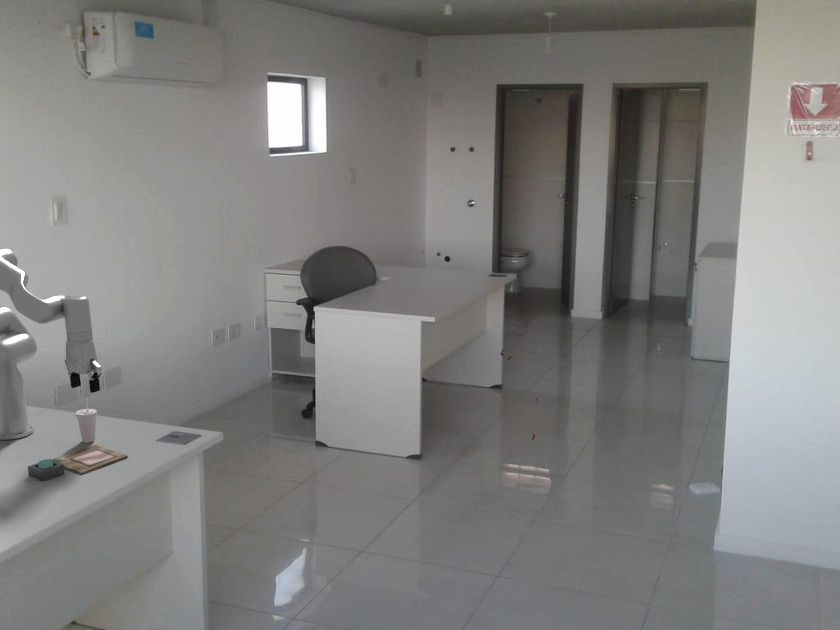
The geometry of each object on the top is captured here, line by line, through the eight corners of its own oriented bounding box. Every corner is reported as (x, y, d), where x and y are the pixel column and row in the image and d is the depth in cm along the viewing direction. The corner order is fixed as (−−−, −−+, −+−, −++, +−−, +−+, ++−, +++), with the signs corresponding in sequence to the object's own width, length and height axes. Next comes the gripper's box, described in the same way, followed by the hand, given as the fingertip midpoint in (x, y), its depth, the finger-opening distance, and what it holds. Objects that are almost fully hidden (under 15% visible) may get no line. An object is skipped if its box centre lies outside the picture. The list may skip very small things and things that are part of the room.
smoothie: (92, 445, 292) (88, 402, 289) (73, 443, 293) (69, 401, 290) (103, 437, 298) (99, 396, 295) (85, 436, 299) (81, 394, 296)
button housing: (28, 476, 268) (27, 466, 267) (50, 468, 273) (49, 458, 272) (42, 481, 264) (41, 471, 263) (64, 473, 269) (63, 464, 269)
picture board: (49, 462, 278) (48, 460, 278) (95, 446, 290) (94, 444, 290) (81, 474, 269) (81, 472, 268) (127, 457, 281) (127, 455, 281)
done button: (36, 472, 268) (35, 462, 267) (48, 468, 271) (47, 458, 270) (44, 475, 265) (43, 465, 265) (56, 471, 269) (55, 461, 268)
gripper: (52, 335, 290) (58, 388, 293) (86, 342, 280) (92, 396, 283) (73, 330, 296) (79, 382, 299) (107, 336, 286) (113, 390, 289)
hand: (85, 389), depth 291 cm, fingers open, 9 cm apart
